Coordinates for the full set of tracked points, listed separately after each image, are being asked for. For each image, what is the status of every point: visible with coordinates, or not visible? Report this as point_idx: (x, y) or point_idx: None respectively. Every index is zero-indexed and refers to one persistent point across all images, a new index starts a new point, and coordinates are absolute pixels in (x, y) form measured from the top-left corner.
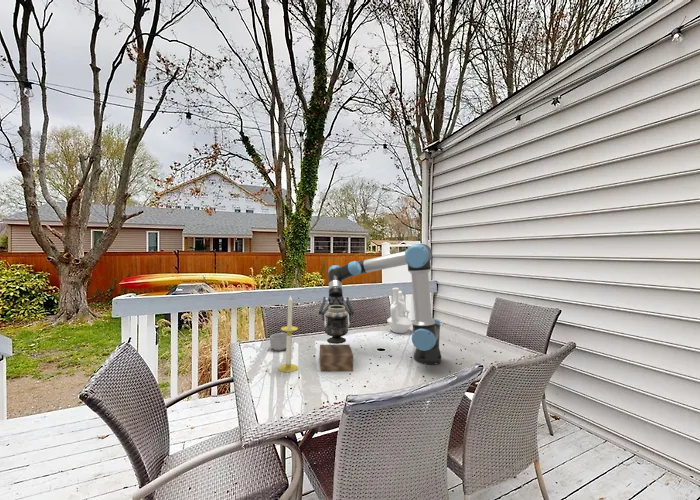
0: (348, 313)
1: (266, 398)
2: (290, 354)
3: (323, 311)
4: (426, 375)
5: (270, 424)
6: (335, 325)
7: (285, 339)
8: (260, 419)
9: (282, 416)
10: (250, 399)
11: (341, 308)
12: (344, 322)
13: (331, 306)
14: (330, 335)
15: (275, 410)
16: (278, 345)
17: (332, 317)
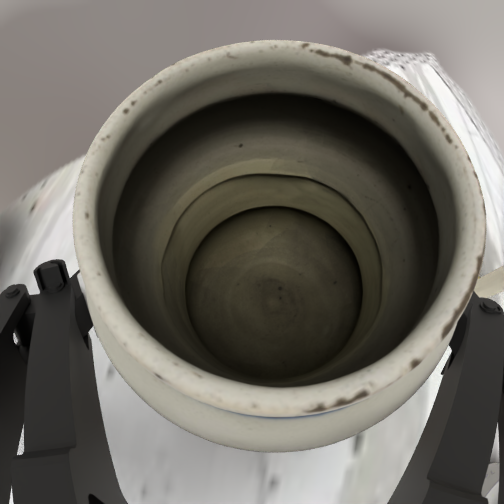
0: (75, 299)
1: (455, 124)
2: (483, 277)
3: (496, 318)
4: (25, 213)
5: (412, 58)
6: (298, 188)
7: (487, 487)
8: (432, 71)
9: (402, 68)
10: (479, 129)
11: (201, 53)
12: (192, 208)
13: (421, 324)
14: (329, 240)
15: (421, 84)
16: (497, 464)
17: (347, 119)
